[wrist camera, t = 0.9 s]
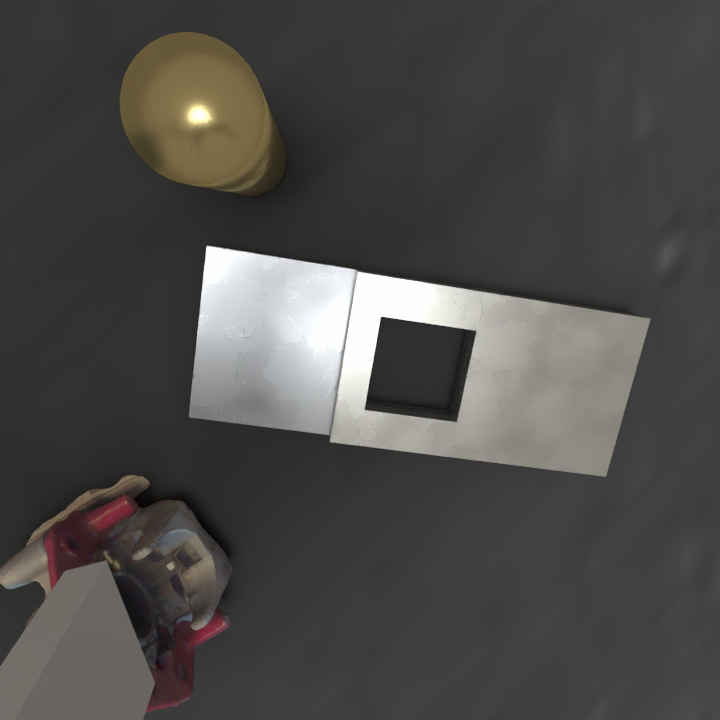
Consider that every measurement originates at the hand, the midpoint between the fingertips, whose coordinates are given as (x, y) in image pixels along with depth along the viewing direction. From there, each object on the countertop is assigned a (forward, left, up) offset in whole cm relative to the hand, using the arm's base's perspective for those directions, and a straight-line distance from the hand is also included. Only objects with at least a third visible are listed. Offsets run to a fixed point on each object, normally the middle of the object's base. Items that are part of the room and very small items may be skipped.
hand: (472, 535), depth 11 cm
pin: (-7, +7, -22) cm, 24 cm away
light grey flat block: (+7, -2, -22) cm, 23 cm away
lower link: (-2, -2, -22) cm, 22 cm away
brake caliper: (-10, -16, -22) cm, 29 cm away
